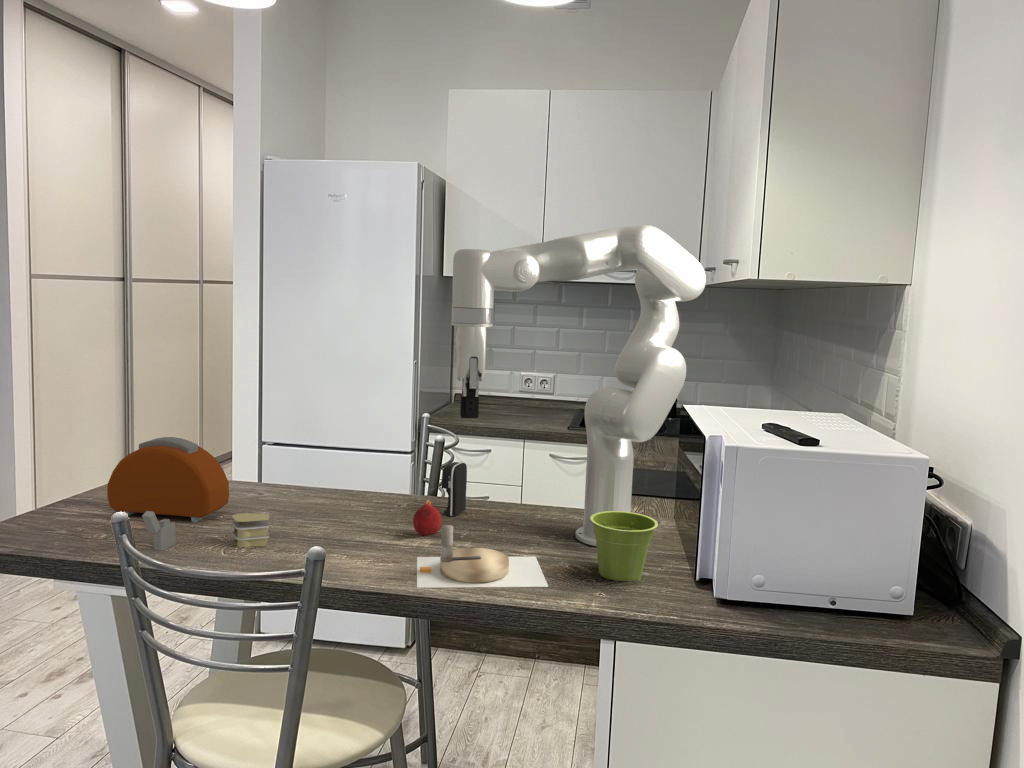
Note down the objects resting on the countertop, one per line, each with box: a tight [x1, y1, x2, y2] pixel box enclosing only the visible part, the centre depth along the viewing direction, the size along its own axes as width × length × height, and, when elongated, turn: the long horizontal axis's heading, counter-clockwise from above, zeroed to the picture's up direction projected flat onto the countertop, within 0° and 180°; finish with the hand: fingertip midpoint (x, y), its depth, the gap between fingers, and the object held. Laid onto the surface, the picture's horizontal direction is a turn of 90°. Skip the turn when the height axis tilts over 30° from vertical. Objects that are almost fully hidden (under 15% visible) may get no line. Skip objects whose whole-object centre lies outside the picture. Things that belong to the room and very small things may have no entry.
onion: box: [412, 499, 443, 538], centre depth 161 cm, size 6×6×8 cm
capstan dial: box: [440, 524, 509, 582], centre depth 140 cm, size 12×12×8 cm
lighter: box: [141, 511, 177, 552], centre depth 150 cm, size 7×2×8 cm, turn 165°
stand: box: [416, 556, 549, 589], centre depth 141 cm, size 22×15×2 cm
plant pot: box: [590, 511, 659, 582], centre depth 142 cm, size 12×12×11 cm
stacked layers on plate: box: [231, 512, 270, 548], centre depth 155 cm, size 10×9×6 cm
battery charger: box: [441, 461, 468, 517], centre depth 181 cm, size 7×4×11 cm, turn 161°
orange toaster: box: [106, 436, 230, 523], centre depth 171 cm, size 23×9×17 cm, turn 82°
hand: (469, 417), depth 148 cm, fingers closed
